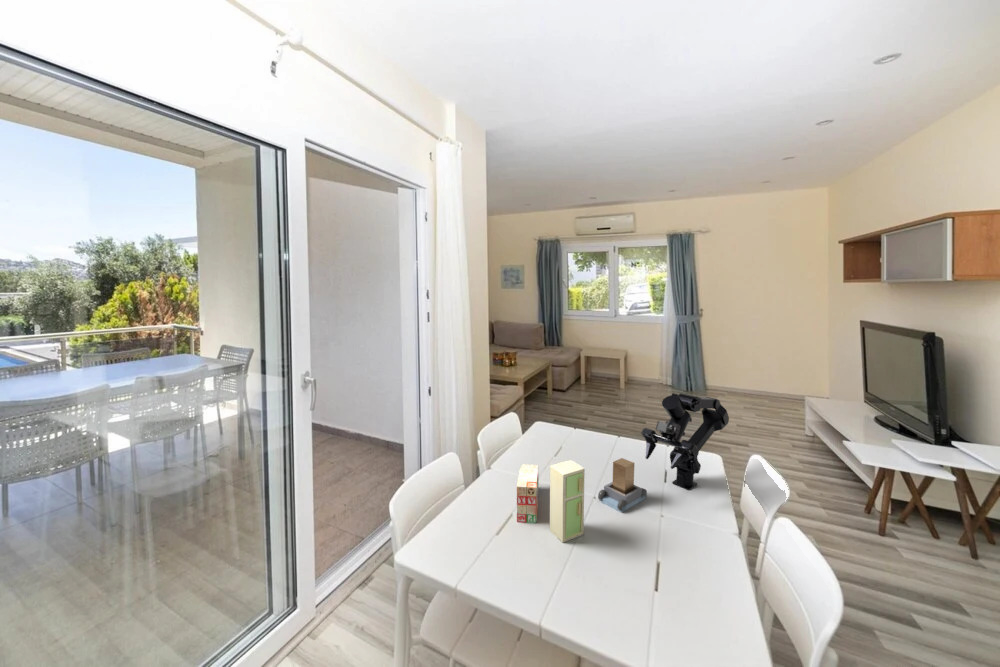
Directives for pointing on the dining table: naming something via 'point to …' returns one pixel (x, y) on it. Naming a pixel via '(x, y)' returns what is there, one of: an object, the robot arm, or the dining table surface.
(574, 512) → the toy refrigerator
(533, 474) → the stack of blocks
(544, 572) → the dining table surface
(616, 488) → the tall tan wooden block
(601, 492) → the chassis
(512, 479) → the dining table surface
